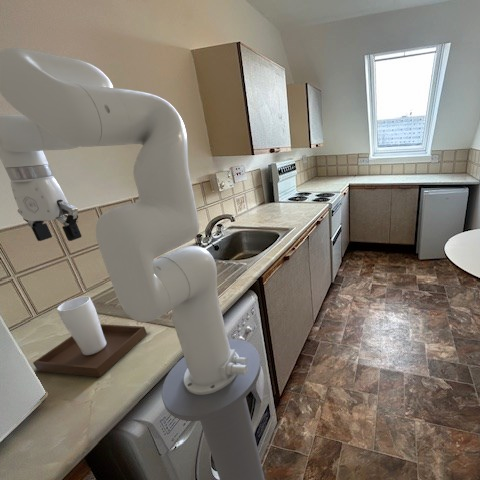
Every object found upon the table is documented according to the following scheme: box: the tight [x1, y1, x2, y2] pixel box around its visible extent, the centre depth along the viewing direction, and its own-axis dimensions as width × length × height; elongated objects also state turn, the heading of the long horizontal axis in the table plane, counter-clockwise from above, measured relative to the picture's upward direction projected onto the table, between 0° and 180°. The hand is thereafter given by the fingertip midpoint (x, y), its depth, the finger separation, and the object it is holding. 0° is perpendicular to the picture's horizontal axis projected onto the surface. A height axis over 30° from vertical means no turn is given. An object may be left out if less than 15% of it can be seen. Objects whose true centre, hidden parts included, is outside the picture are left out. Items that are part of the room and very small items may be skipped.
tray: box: [32, 323, 148, 378], centre depth 73 cm, size 19×15×3 cm
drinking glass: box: [56, 295, 107, 355], centre depth 71 cm, size 7×7×15 cm
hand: (60, 239), depth 71 cm, fingers open, 9 cm apart
